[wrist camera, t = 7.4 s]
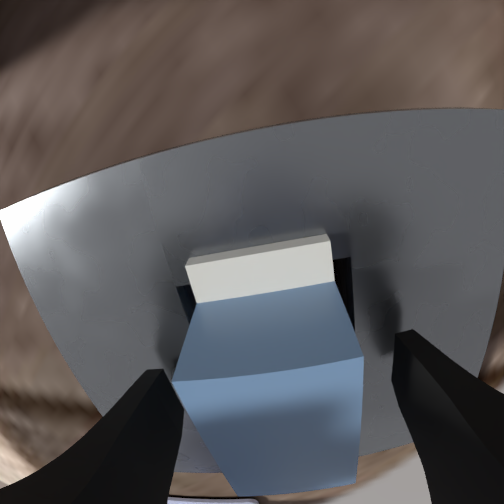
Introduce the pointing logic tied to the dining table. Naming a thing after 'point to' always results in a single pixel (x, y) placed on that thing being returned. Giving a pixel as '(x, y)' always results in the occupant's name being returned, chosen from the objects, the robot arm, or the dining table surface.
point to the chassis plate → (271, 231)
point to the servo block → (273, 368)
